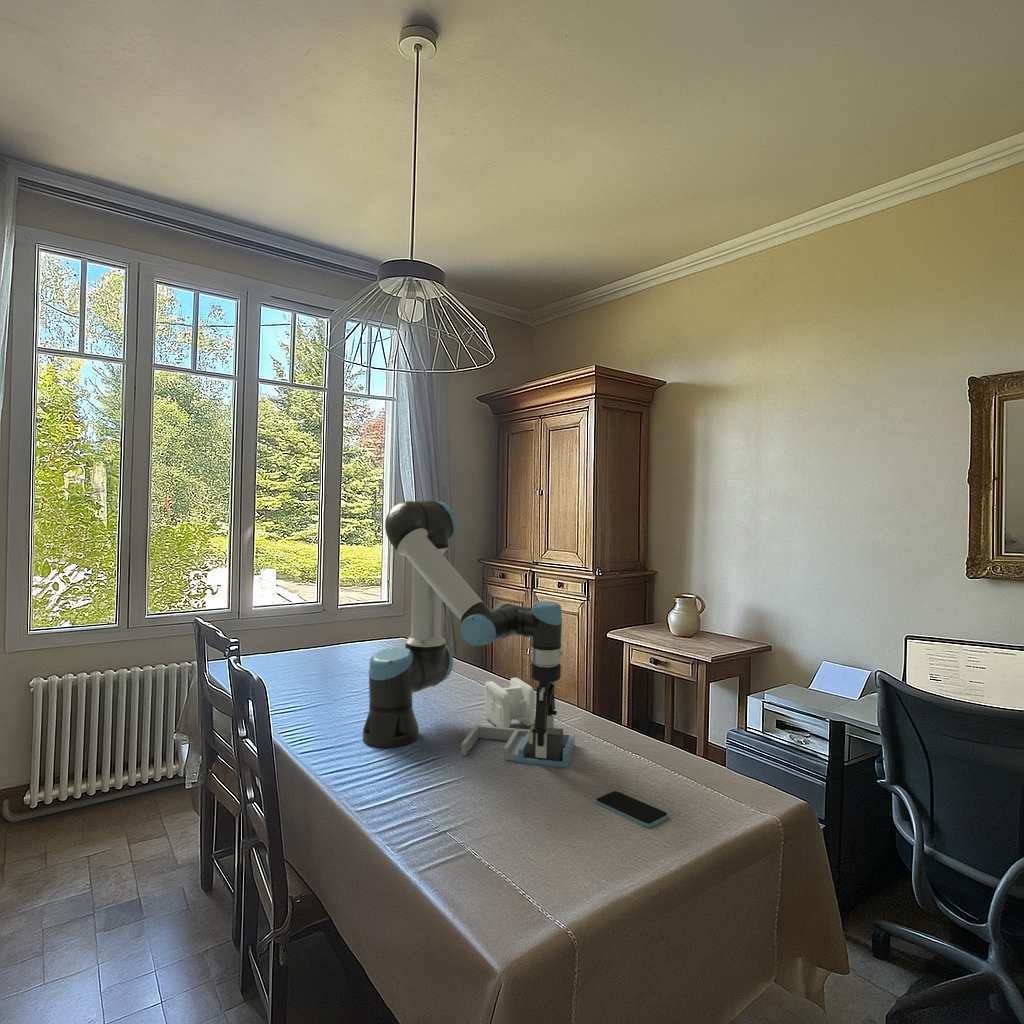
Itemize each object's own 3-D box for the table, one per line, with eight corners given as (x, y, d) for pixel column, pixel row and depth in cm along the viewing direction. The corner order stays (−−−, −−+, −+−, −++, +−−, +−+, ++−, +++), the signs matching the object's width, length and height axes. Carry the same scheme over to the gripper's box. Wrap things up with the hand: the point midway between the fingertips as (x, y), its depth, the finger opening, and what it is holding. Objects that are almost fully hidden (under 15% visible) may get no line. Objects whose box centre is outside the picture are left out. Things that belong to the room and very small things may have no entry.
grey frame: (460, 756, 165) (460, 744, 164) (475, 735, 179) (476, 724, 179) (566, 767, 158) (567, 755, 158) (574, 744, 173) (574, 733, 172)
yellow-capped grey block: (528, 759, 163) (528, 731, 163) (531, 752, 167) (532, 726, 167) (560, 762, 162) (560, 734, 161) (562, 755, 166) (563, 729, 165)
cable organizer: (536, 730, 184) (536, 689, 183) (502, 735, 179) (502, 693, 179) (514, 713, 197) (515, 675, 197) (482, 718, 193) (482, 679, 193)
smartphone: (615, 789, 146) (670, 813, 134) (615, 794, 146) (670, 818, 134) (593, 799, 141) (648, 825, 130) (593, 804, 141) (648, 830, 130)
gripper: (553, 678, 153) (552, 769, 154) (566, 652, 175) (565, 732, 176) (522, 675, 154) (521, 766, 156) (539, 649, 176) (538, 729, 178)
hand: (544, 748), depth 166 cm, fingers open, 10 cm apart
